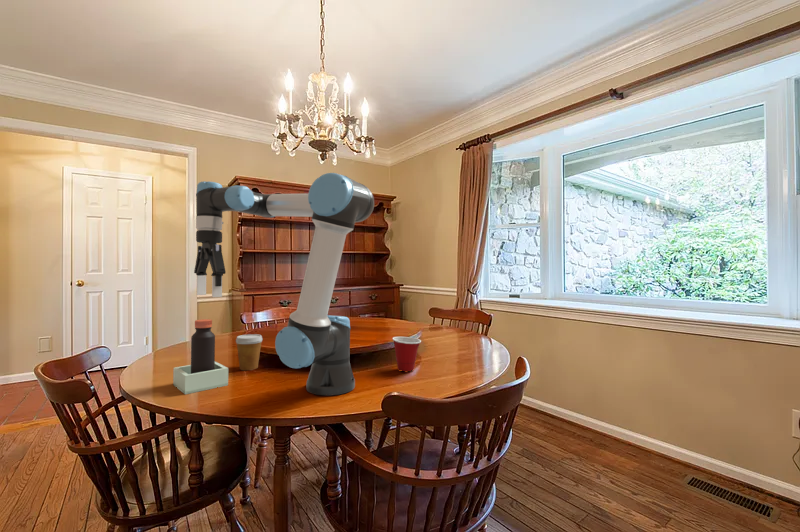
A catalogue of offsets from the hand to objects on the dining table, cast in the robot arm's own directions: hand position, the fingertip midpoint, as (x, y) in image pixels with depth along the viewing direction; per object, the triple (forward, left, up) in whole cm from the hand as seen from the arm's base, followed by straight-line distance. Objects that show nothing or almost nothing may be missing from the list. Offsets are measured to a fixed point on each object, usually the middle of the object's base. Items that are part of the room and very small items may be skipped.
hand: (208, 296), depth 119 cm
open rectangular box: (+1, +2, -29) cm, 29 cm away
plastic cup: (-33, -59, -29) cm, 73 cm away
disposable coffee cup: (+10, -18, -29) cm, 35 cm away
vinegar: (0, +1, -28) cm, 28 cm away
